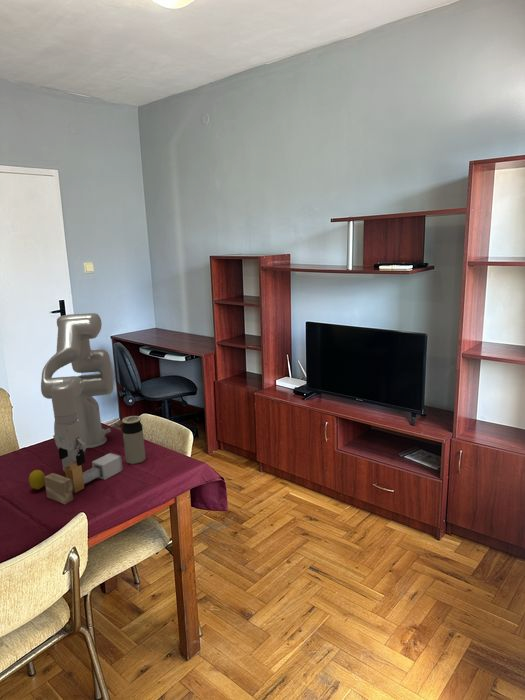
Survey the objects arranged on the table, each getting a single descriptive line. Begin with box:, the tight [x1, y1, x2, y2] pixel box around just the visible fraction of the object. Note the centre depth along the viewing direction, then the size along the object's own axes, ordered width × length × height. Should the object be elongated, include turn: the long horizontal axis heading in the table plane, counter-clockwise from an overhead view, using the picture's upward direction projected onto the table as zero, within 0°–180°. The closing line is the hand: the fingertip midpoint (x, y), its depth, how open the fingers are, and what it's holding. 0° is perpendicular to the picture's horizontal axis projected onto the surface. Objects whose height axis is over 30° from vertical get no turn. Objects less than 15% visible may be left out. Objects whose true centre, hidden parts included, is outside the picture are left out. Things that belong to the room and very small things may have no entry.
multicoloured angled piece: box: [64, 463, 102, 494], centre depth 184 cm, size 19×4×9 cm, turn 147°
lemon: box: [28, 469, 46, 490], centre depth 184 cm, size 6×6×8 cm
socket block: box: [44, 472, 74, 505], centre depth 176 cm, size 4×10×8 cm, turn 57°
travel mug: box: [121, 415, 146, 465], centre depth 203 cm, size 8×8×18 cm
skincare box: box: [61, 446, 80, 473], centre depth 199 cm, size 6×4×12 cm
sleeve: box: [91, 452, 124, 481], centre depth 194 cm, size 9×6×6 cm
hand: (72, 461), depth 181 cm, fingers open, 9 cm apart
